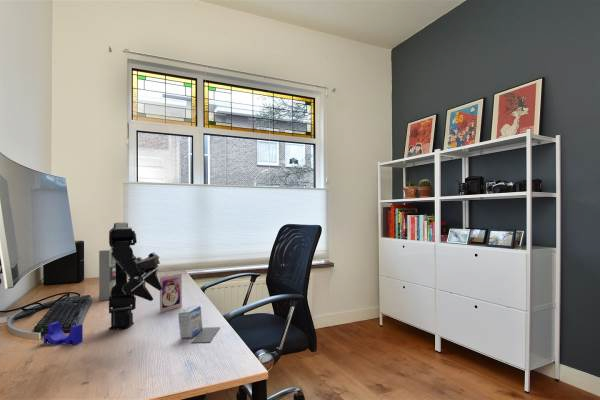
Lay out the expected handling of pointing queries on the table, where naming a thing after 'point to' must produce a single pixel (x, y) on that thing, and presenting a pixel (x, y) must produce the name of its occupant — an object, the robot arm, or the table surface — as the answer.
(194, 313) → the medicine box
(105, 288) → the tall grey pillar
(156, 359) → the table surface
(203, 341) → the pad
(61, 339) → the blue notched block
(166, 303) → the greeting card
